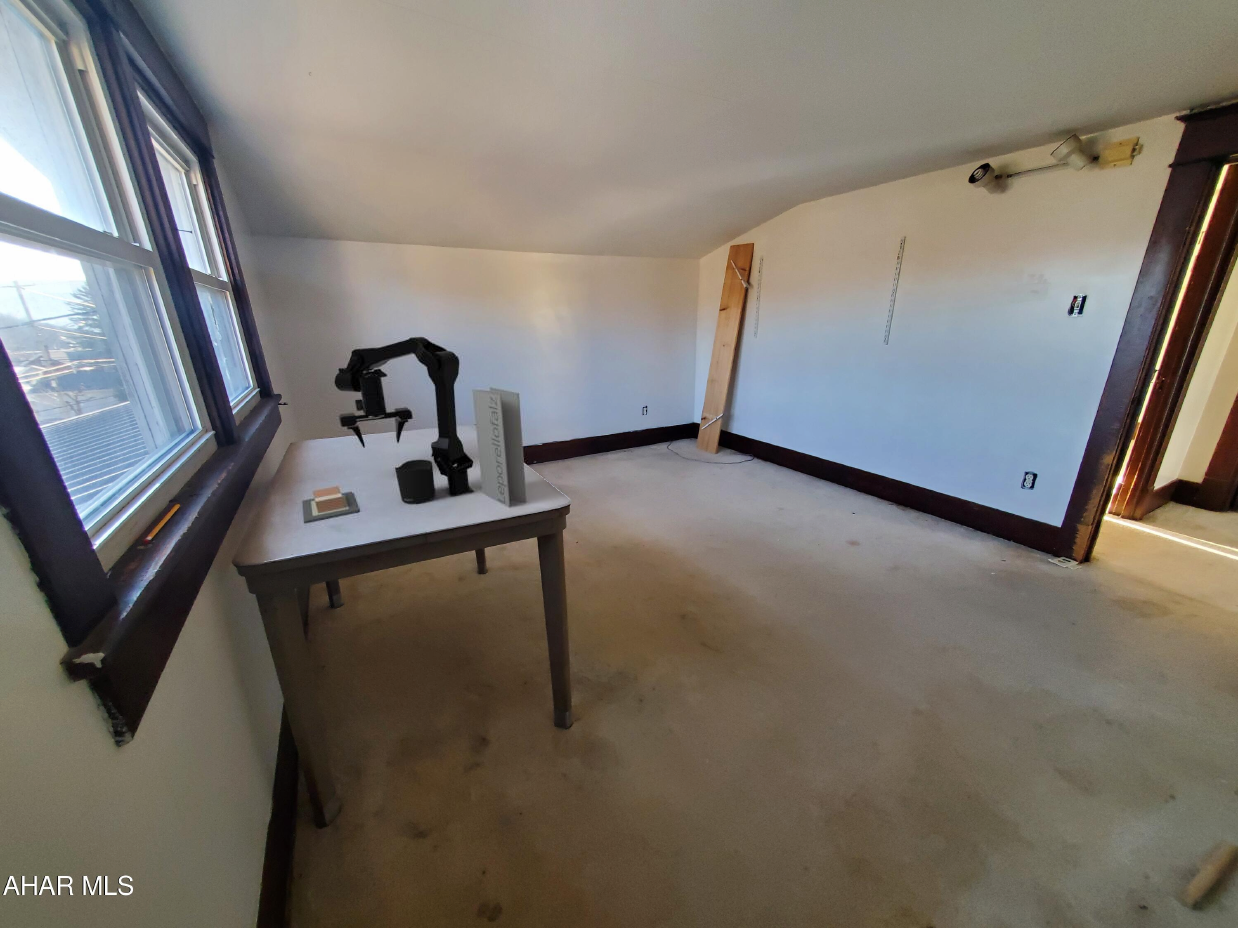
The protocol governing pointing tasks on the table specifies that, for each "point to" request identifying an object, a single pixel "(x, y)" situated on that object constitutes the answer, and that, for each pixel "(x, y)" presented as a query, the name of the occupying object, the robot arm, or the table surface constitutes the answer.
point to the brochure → (500, 444)
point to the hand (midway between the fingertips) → (381, 444)
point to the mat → (312, 514)
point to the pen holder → (416, 481)
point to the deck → (328, 499)
